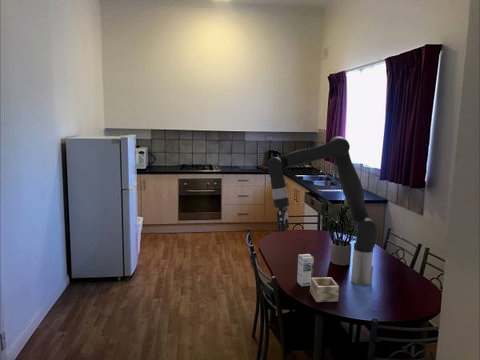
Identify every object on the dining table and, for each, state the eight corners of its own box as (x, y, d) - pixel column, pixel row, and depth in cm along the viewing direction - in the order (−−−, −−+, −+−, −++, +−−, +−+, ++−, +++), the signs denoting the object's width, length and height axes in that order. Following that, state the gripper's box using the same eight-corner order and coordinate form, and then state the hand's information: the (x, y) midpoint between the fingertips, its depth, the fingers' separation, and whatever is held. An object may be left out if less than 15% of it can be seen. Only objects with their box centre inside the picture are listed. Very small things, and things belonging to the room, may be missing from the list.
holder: (330, 291, 184) (331, 277, 182) (338, 301, 174) (339, 286, 173) (309, 291, 182) (310, 277, 181) (316, 301, 172) (317, 287, 171)
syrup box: (301, 286, 188) (303, 258, 185) (296, 281, 193) (298, 253, 191) (312, 285, 189) (314, 257, 187) (307, 280, 195) (309, 253, 192)
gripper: (285, 197, 183) (290, 231, 183) (290, 194, 196) (295, 226, 197) (269, 199, 185) (275, 233, 185) (275, 196, 198) (280, 227, 199)
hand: (285, 229), depth 191 cm, fingers open, 8 cm apart
